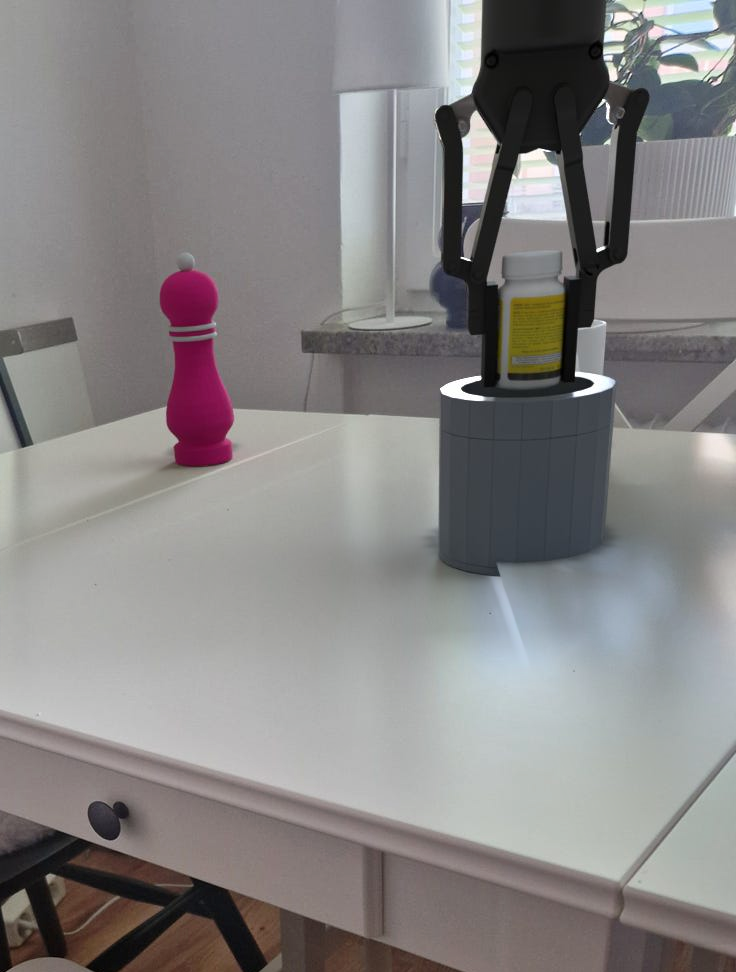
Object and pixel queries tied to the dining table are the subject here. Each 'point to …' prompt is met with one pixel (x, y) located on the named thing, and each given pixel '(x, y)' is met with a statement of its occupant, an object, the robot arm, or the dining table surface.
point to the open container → (523, 471)
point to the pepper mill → (195, 369)
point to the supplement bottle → (530, 321)
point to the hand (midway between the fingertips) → (526, 380)
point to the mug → (591, 348)
